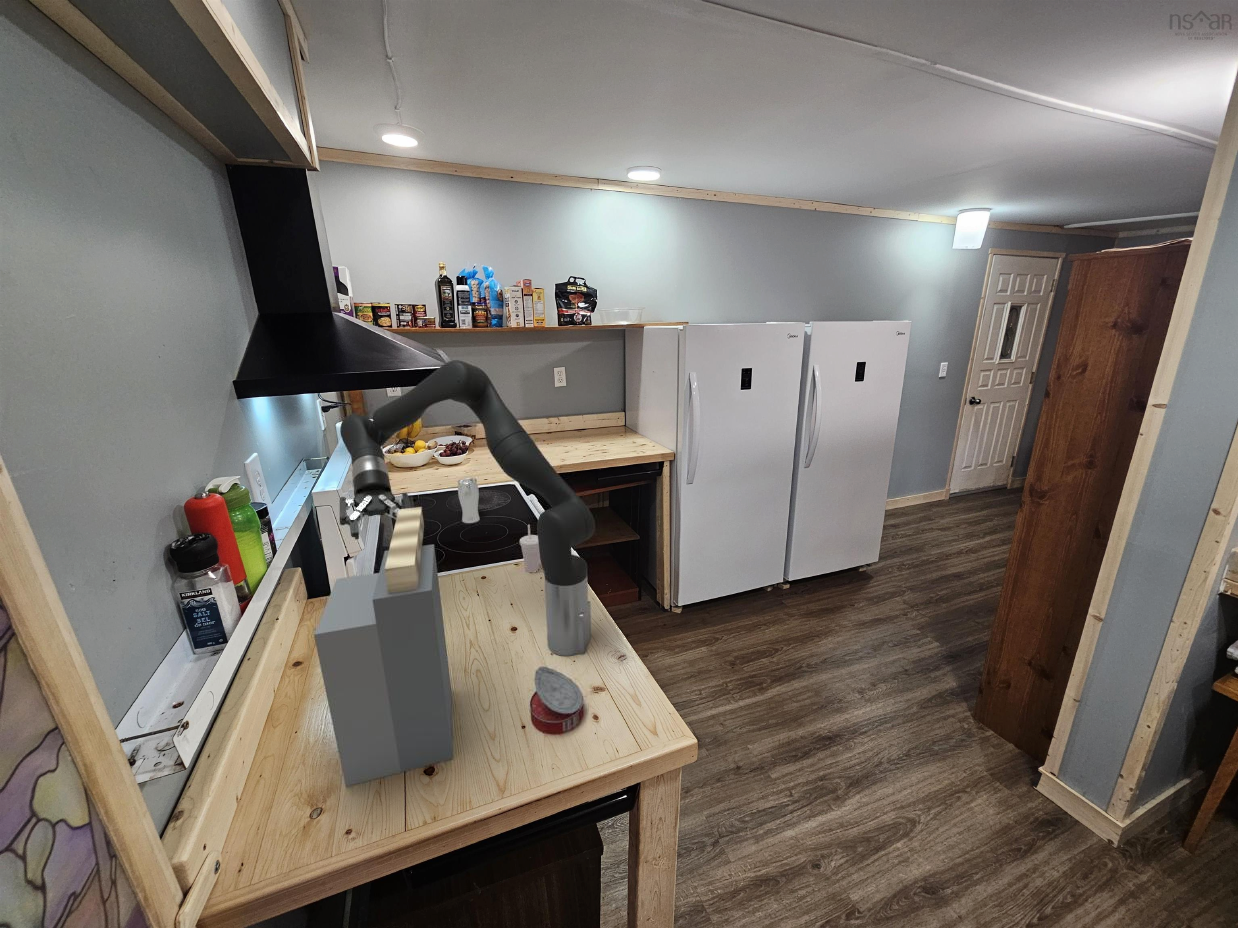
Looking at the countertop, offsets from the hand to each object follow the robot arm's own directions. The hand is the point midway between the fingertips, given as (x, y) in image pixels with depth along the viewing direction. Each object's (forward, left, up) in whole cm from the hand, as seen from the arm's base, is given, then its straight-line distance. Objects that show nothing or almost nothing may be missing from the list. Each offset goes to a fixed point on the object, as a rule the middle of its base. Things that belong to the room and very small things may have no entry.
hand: (379, 534), depth 105 cm
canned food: (-43, +13, -27) cm, 52 cm away
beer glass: (+16, -67, -26) cm, 73 cm away
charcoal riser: (-18, +23, -26) cm, 40 cm away
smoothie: (-19, -37, -26) cm, 49 cm away
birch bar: (-19, +17, +6) cm, 26 cm away
